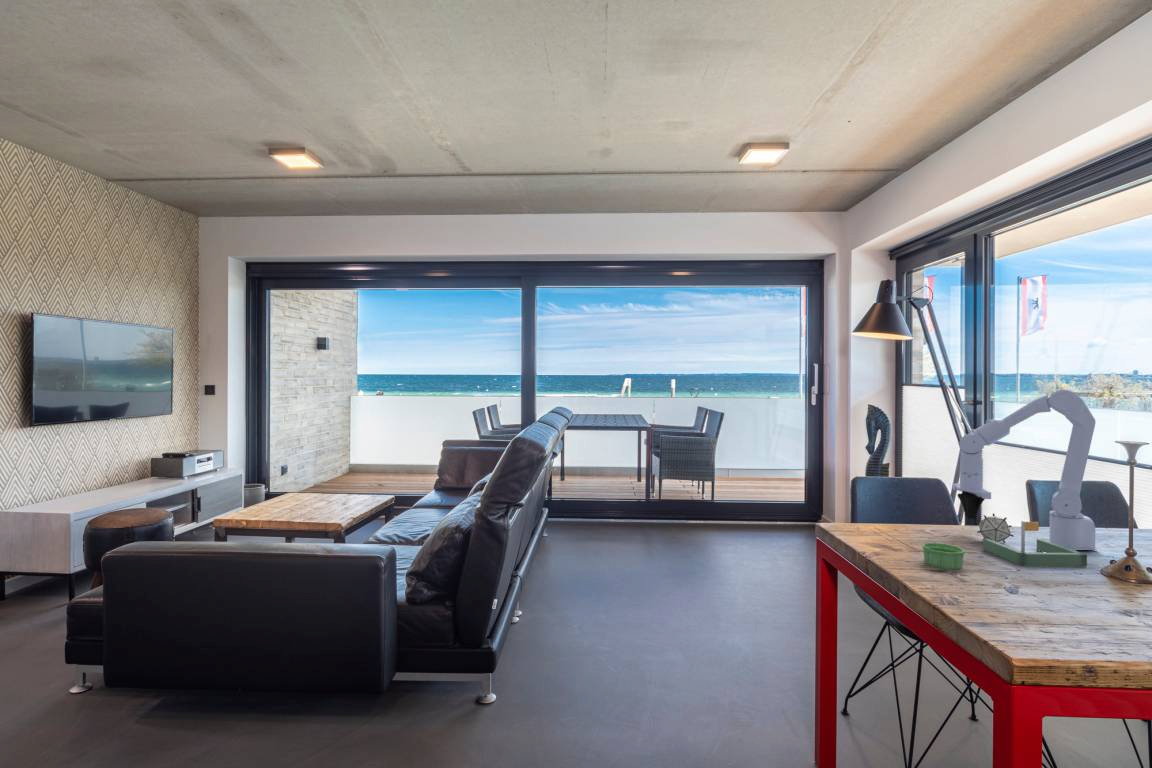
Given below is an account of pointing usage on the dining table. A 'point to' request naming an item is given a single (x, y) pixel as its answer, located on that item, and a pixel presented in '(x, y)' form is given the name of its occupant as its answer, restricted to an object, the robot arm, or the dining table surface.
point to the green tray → (1052, 557)
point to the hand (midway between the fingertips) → (970, 517)
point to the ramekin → (943, 555)
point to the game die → (994, 528)
